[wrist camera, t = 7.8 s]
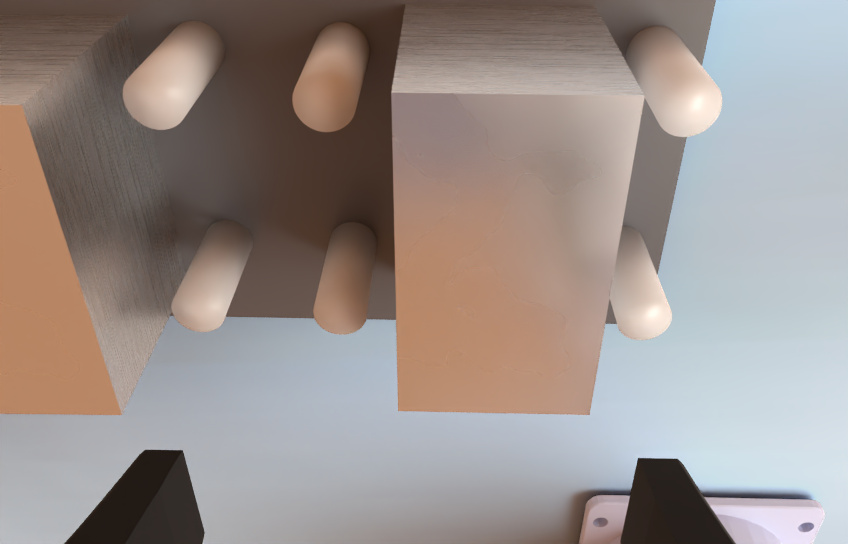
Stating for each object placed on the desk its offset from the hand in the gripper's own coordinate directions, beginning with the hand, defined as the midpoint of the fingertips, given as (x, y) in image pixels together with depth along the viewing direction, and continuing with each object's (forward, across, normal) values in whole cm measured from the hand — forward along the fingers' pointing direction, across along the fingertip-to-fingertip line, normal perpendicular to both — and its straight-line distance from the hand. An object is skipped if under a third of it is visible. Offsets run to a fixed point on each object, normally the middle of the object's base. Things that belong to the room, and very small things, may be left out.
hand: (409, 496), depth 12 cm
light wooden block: (+8, +8, -2) cm, 12 cm away
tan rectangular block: (+8, -2, -2) cm, 9 cm away
